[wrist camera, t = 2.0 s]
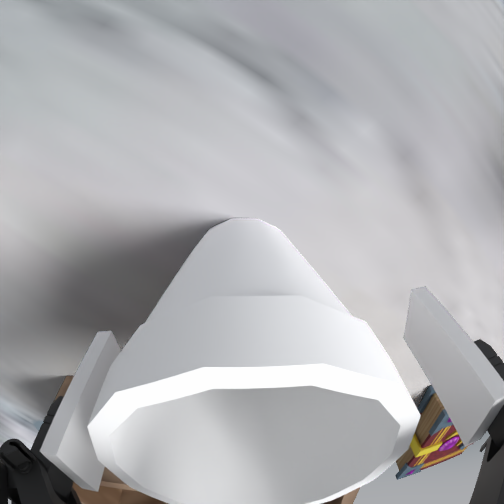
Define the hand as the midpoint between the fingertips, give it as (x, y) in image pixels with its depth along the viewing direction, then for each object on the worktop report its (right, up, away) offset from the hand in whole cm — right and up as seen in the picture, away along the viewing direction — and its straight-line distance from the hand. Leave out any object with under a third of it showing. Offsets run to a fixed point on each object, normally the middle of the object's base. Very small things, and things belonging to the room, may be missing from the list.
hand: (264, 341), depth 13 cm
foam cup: (-1, +3, +6) cm, 7 cm away
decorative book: (+23, -17, +17) cm, 33 cm away
